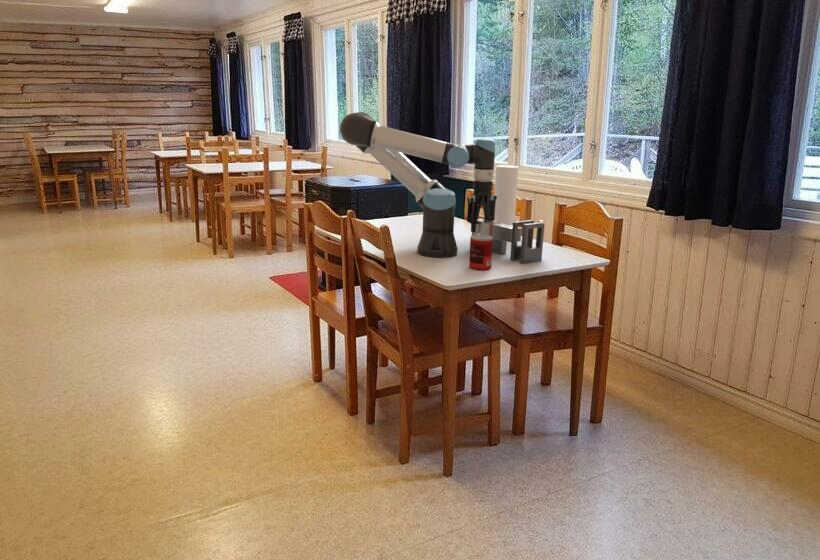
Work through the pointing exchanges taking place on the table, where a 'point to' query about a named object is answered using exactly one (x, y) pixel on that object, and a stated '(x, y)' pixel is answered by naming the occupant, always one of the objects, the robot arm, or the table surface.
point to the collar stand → (527, 242)
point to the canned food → (480, 252)
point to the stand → (499, 246)
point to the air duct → (497, 230)
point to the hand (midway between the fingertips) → (479, 239)
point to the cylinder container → (505, 193)
